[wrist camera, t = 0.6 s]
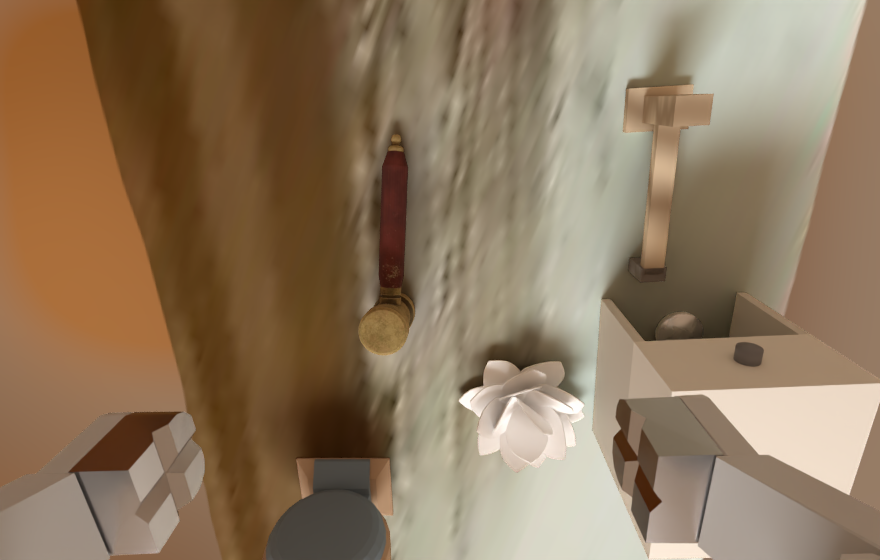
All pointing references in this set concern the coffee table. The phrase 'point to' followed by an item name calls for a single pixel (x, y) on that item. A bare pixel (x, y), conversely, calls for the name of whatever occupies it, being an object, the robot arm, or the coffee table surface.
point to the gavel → (390, 262)
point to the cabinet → (744, 393)
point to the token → (679, 327)
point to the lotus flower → (524, 413)
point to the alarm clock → (336, 512)
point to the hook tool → (661, 161)
